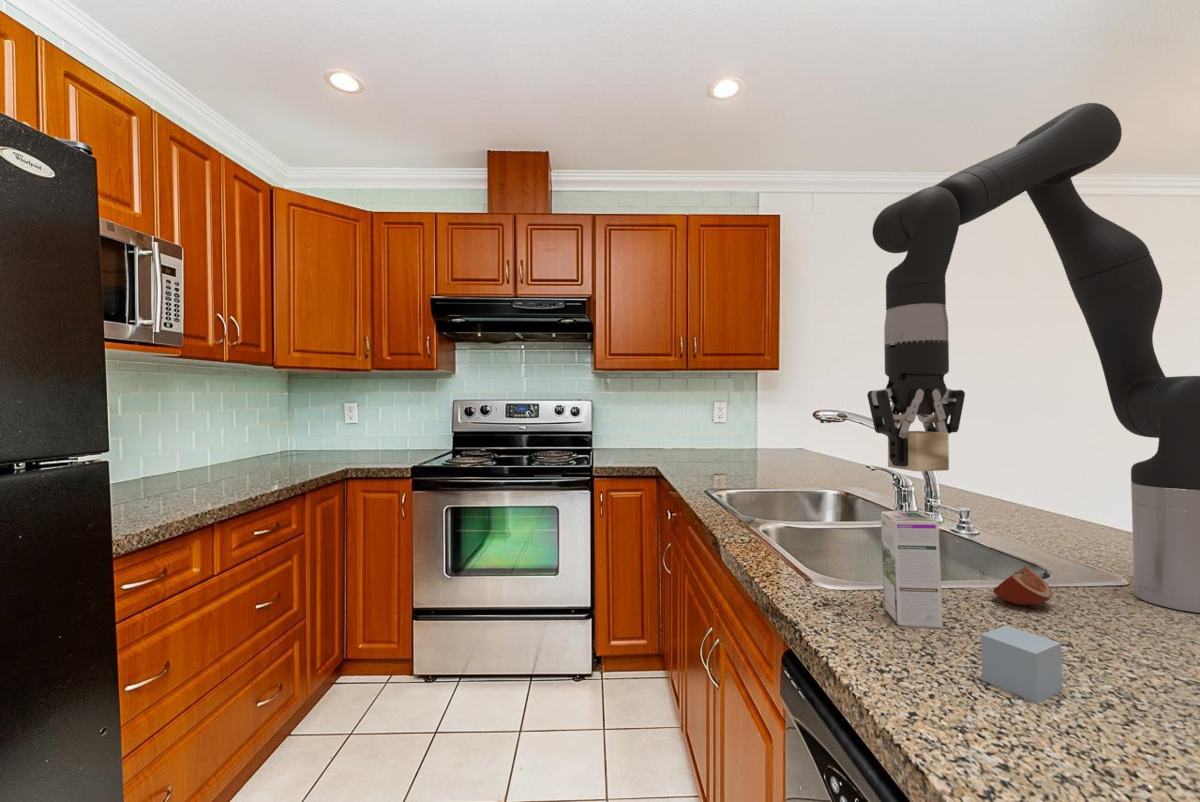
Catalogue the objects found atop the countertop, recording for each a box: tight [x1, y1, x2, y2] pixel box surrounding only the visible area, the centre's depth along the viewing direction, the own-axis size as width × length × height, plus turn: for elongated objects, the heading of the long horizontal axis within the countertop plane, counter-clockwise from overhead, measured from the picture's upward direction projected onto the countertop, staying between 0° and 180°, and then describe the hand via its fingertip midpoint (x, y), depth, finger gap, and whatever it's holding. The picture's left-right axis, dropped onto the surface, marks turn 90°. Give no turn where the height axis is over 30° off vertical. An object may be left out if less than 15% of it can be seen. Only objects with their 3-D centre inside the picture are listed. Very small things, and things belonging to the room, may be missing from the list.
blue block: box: [980, 625, 1063, 704], centre depth 55 cm, size 5×5×5 cm
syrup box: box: [880, 510, 943, 629], centre depth 72 cm, size 6×6×14 cm
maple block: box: [887, 430, 950, 472], centre depth 71 cm, size 5×5×5 cm
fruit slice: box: [992, 565, 1053, 606], centre depth 77 cm, size 8×7×5 cm
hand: (917, 464), depth 71 cm, fingers closed on maple block, 5 cm apart
